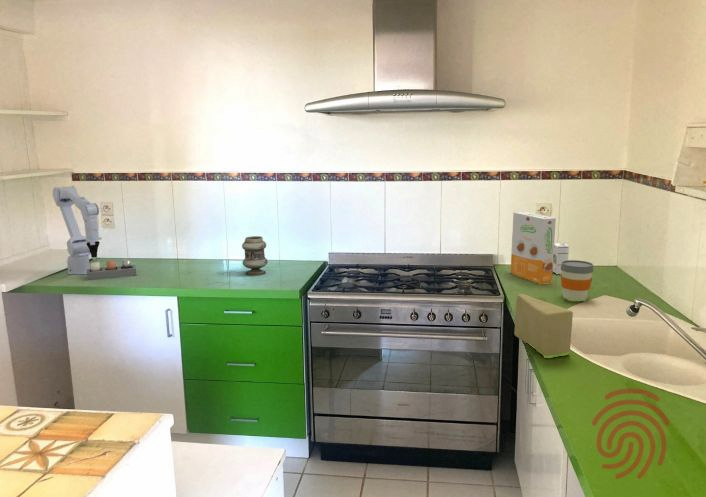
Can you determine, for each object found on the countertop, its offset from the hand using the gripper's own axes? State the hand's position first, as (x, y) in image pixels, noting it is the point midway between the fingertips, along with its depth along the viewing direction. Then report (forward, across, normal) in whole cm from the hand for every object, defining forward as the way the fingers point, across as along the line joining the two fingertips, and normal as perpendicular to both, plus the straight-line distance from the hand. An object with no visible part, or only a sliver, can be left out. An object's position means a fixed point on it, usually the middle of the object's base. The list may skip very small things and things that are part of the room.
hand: (94, 257), depth 277 cm
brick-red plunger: (+7, 0, -7) cm, 10 cm away
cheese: (+10, -158, -132) cm, 206 cm away
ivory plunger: (+7, 0, 0) cm, 7 cm away
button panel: (+10, 0, -7) cm, 12 cm away
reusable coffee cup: (+10, -122, -182) cm, 220 cm away
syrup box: (+10, -87, -207) cm, 224 cm away
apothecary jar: (+10, -24, -72) cm, 77 cm away
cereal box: (+10, -88, -188) cm, 208 cm away
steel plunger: (+7, 0, -14) cm, 16 cm away
